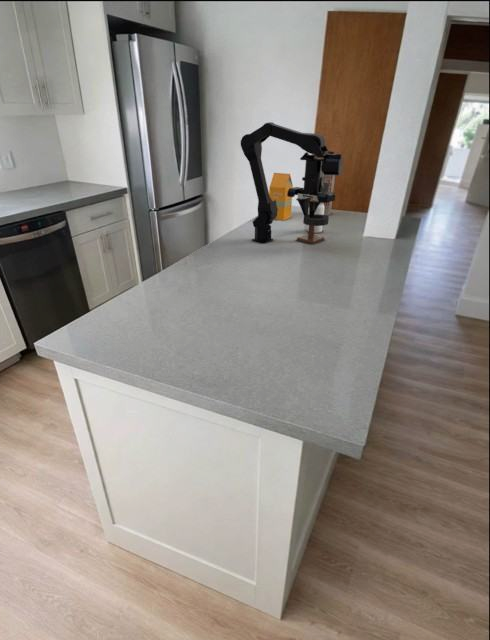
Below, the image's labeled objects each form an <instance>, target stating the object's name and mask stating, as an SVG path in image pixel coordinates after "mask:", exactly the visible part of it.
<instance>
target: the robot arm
mask: <svg viewBox="0 0 490 640" xmlns="http://www.w3.org/2000/svg"><path fill="white" fill-rule="evenodd" d="M269 137H272V138H274V139H278V140H281V141H284V142H287V143H290V144H293V145H296V146H298V147H299V148H300V149H302V150H303V151H304V154H303V155H302V156H301V157H300V158H299V160H300V161H305V167H304V176H302V178H301V181H303V187H299V186H293V188H289V190H288V192H287V196H288V197H292V198H294V197H295V196H297V198H296V199H295V200H296V201H297V203H298V204H299V206H300V209H301V211H302V214H303V217H304V216H305V215H309V216H310V218H313V216H314V214H315V212H316V209H317V207H318V205H319V204H320V203H321V202H323V203H327V202H331V201H332V202H334V201H336V194H335V192H334V191H333V192H327V190H328V187H329V184H327V183H325V182H322V177H320V173H321V171H322V172H323V173H324V175H335V176H339V177H340V176H341V175H342V172H343V167H344V163H343V162H344V160H343V159H344V158H343V153H334V154H330V153H329V151H330V150H329V149H328V147H327V145H326V139H325V136H324V135H323V134H320V133H312V132H301V131H298V130H294V129H292V128H290V127H289V128H288V127H286V126H283V125H279V124H276V123H274V122H272V121H270V122H269V121H268V122H265V123H264V124H263V125H262V126H260V127H259V128H257V129H256V130H254V131H252V132H251V133H246V134H244V135H243V136H242V137H241V139H240V147H241V150H242V153H243V155H244V157H245V158H246V160H247V161H248V164H249V167H250V171H251V175H252V180H253V184H254V188H255V191H256V195H257V202H258V203H257V216H256V217H255V219H253V220H252V226H253V228H254V238H251V241H252V242H256V243H260V244H266V243H268V242H272V241H274V238H272V225H271V224H273V222H274V220H276V219H275V218H276V216H277V211H278V208H277V205H276V200H274V201H272V199H271V198H270V196H269V187H268V183H267V179H266V174H265V171H264V166H263V161H262V154H263V153H262V152H263V145H262V144H263V143H264V142H265V141H267V139H268V138H269ZM321 163H322V165H321ZM319 192H322V193H319Z"/></svg>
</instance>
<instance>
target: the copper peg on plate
mask: <svg viewBox="0 0 490 640" xmlns="http://www.w3.org/2000/svg"><path fill="white" fill-rule="evenodd" d="M314 229H315V226H311V225H309V230H308V229H307V234H305V235H302V236H298V237H297V238H296V241H298V242H301V243H306V244H309V245H314V244H317V243H320V242H324V240H325V237H324V236H319V235H315V233H314Z"/></svg>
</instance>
